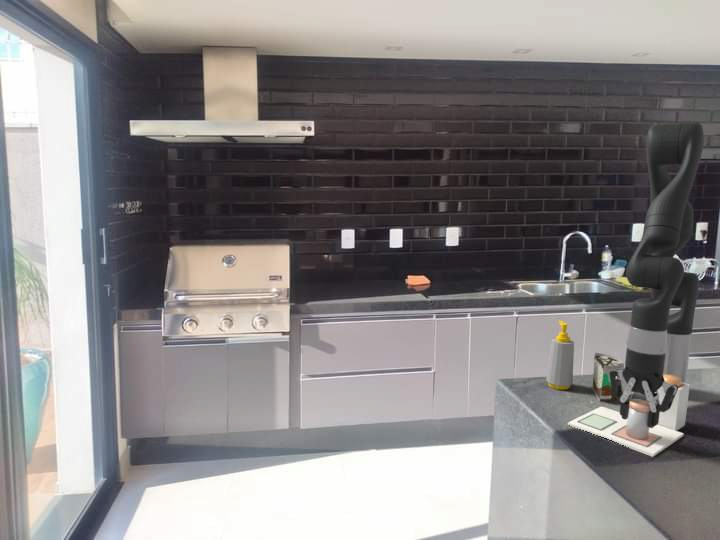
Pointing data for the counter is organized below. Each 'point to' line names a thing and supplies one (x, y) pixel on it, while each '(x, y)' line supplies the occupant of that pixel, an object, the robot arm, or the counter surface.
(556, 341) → the soap bottle
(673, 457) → the counter surface
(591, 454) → the counter surface
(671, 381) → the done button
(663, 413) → the white open box
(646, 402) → the peach-capped grey cylinder
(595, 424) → the picture board
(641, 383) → the robot arm
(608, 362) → the food container
